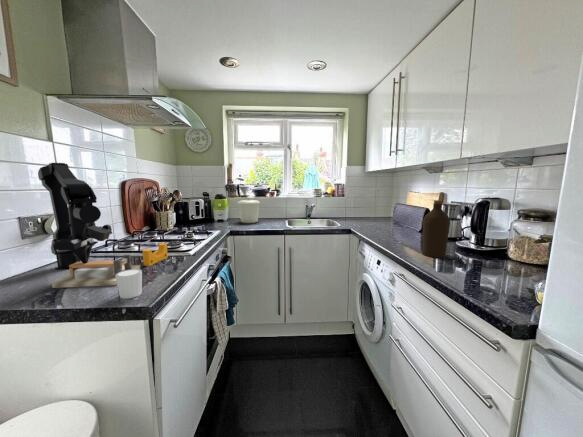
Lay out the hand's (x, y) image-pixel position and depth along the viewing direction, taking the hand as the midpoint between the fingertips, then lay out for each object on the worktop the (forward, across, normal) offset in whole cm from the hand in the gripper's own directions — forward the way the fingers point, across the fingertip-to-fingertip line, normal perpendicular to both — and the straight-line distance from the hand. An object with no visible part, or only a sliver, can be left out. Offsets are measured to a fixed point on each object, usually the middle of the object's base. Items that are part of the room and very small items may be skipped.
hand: (85, 263), depth 91 cm
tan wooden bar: (+3, 0, -5) cm, 6 cm away
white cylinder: (+6, -16, -23) cm, 28 cm away
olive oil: (+4, +12, -140) cm, 141 cm away
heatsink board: (+5, 0, -5) cm, 7 cm away
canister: (+5, +112, -51) cm, 123 cm away
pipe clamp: (+6, +17, -16) cm, 24 cm away
